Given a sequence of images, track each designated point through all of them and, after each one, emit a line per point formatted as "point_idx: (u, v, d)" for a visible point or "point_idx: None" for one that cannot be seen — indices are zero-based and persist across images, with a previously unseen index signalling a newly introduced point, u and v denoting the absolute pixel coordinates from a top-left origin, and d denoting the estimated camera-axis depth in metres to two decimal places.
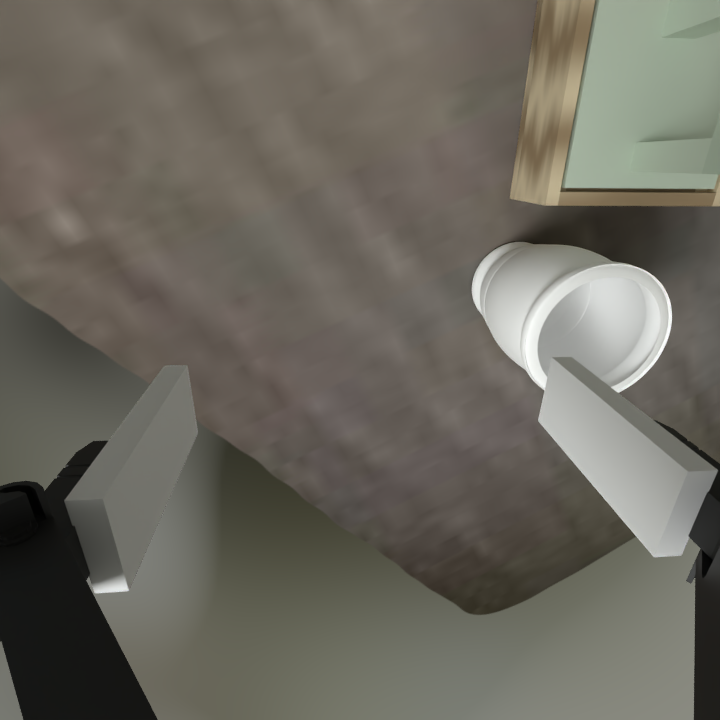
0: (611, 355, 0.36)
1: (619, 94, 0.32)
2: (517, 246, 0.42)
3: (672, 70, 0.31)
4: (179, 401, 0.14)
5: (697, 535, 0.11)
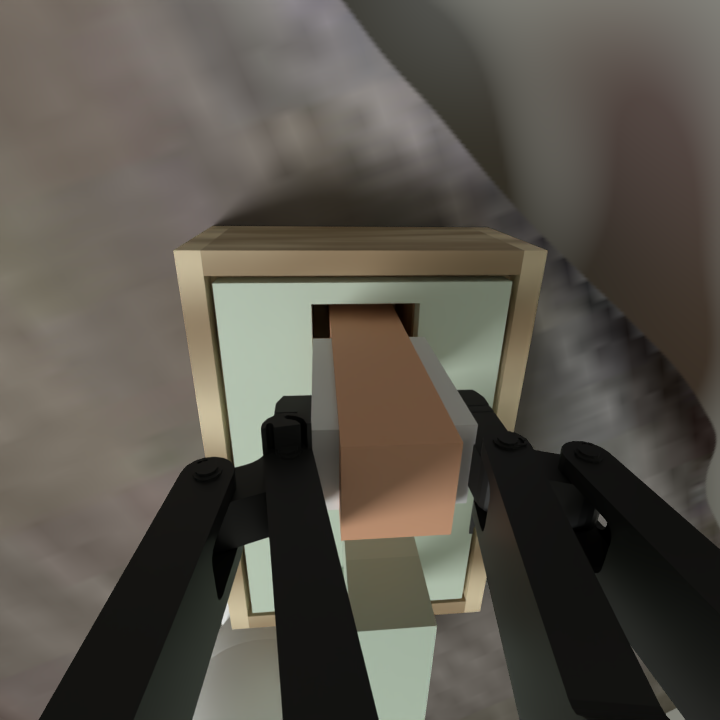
0: None
1: None
2: None
3: None
4: None
5: (471, 483, 0.12)
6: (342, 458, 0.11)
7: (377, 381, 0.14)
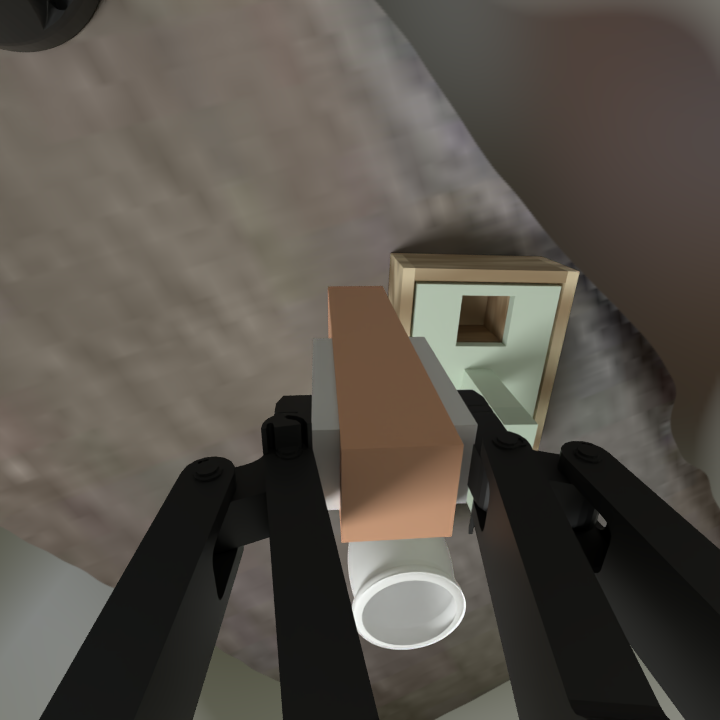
0: (439, 598, 0.46)
1: None
2: None
3: None
4: None
5: (470, 483, 0.12)
6: (343, 460, 0.11)
7: (378, 383, 0.14)
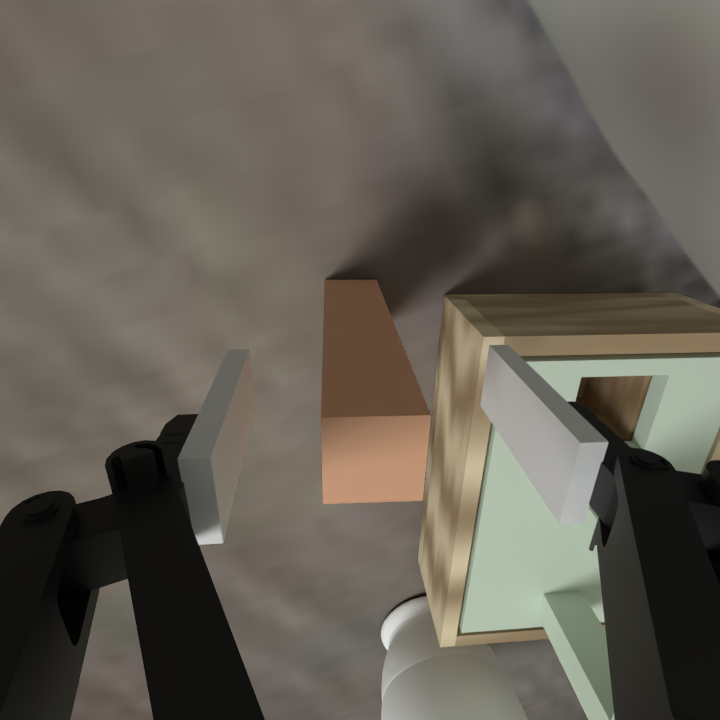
0: None
1: (518, 560, 0.26)
2: (428, 607, 0.36)
3: (580, 538, 0.26)
4: (245, 381, 0.15)
5: (594, 502, 0.12)
6: (322, 427, 0.12)
7: (360, 363, 0.15)
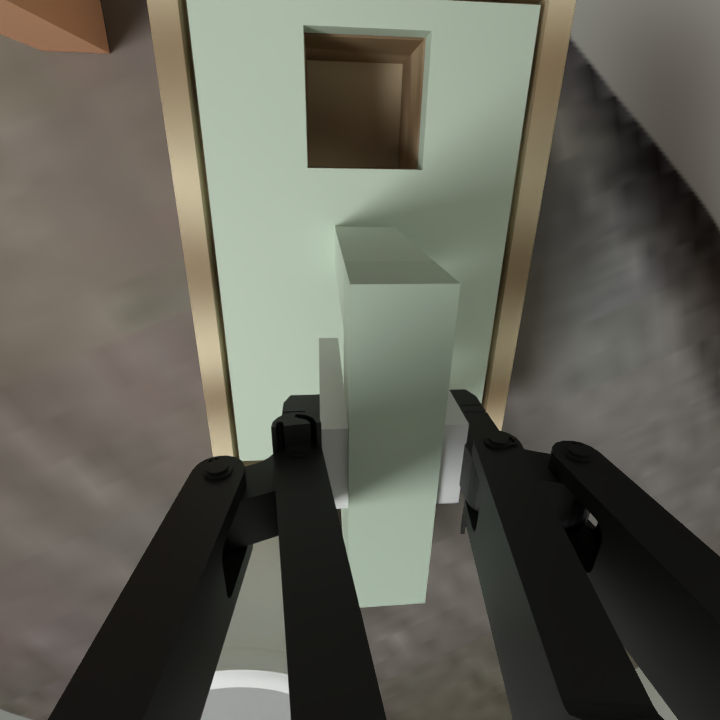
0: None
1: (288, 347, 0.20)
2: None
3: None
4: None
5: (462, 483, 0.12)
6: None
7: None
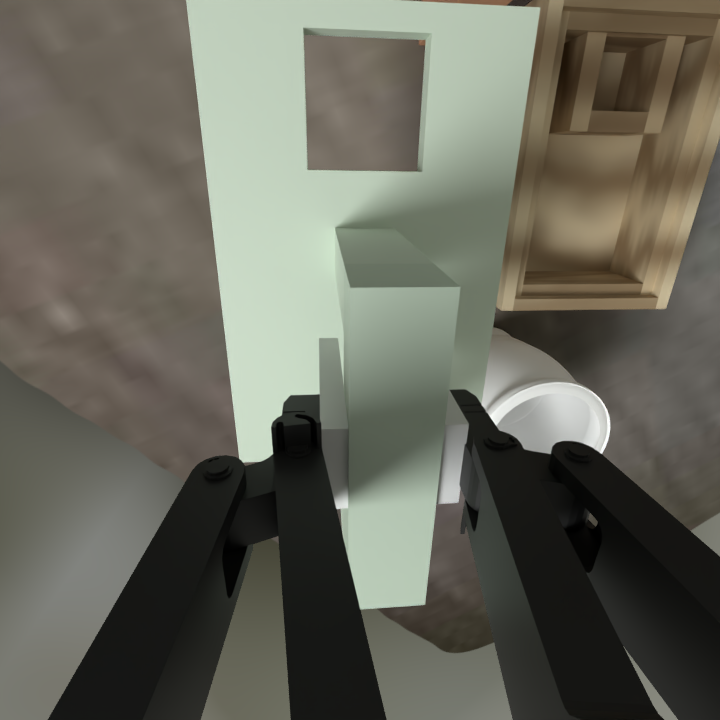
0: None
1: (288, 349, 0.20)
2: None
3: None
4: None
5: (462, 483, 0.12)
6: None
7: None
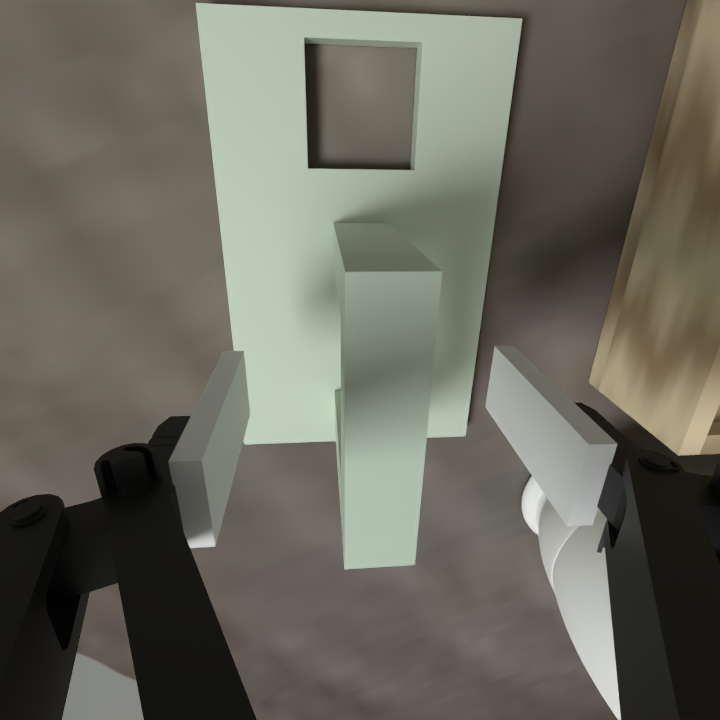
0: None
1: (289, 336, 0.22)
2: None
3: None
4: (240, 383, 0.15)
5: (603, 505, 0.12)
6: None
7: None
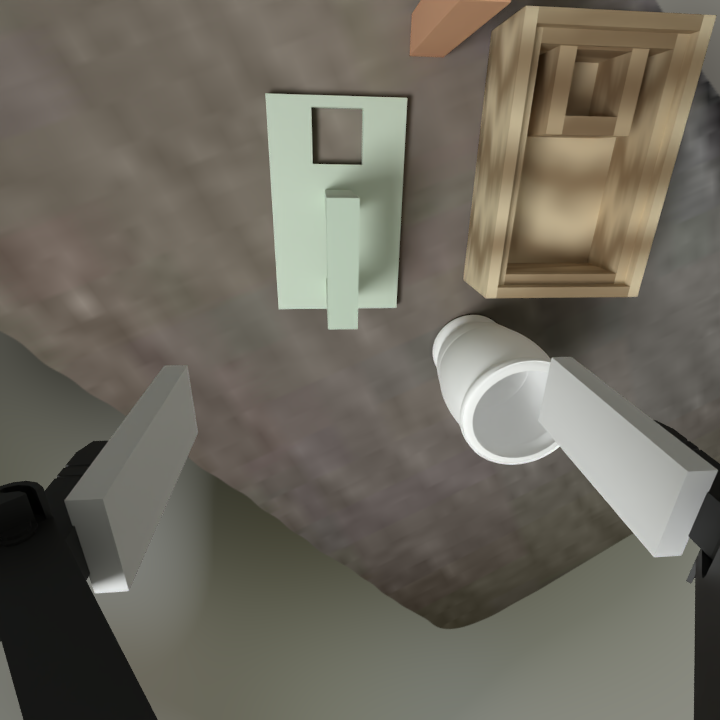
0: None
1: (303, 248, 0.44)
2: (470, 319, 0.48)
3: None
4: (179, 401, 0.14)
5: (697, 535, 0.11)
6: None
7: None
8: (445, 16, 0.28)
